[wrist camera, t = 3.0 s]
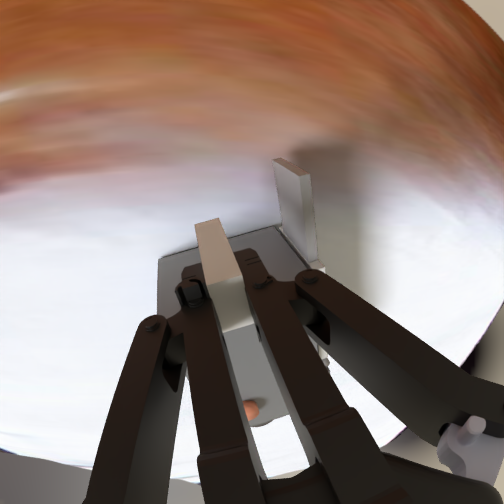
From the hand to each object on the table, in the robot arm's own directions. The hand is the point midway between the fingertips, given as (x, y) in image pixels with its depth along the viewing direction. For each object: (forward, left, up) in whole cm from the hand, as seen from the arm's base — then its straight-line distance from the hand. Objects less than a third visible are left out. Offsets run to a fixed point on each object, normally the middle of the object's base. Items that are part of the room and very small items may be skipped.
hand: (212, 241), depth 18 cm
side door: (+5, +6, -6) cm, 10 cm away
